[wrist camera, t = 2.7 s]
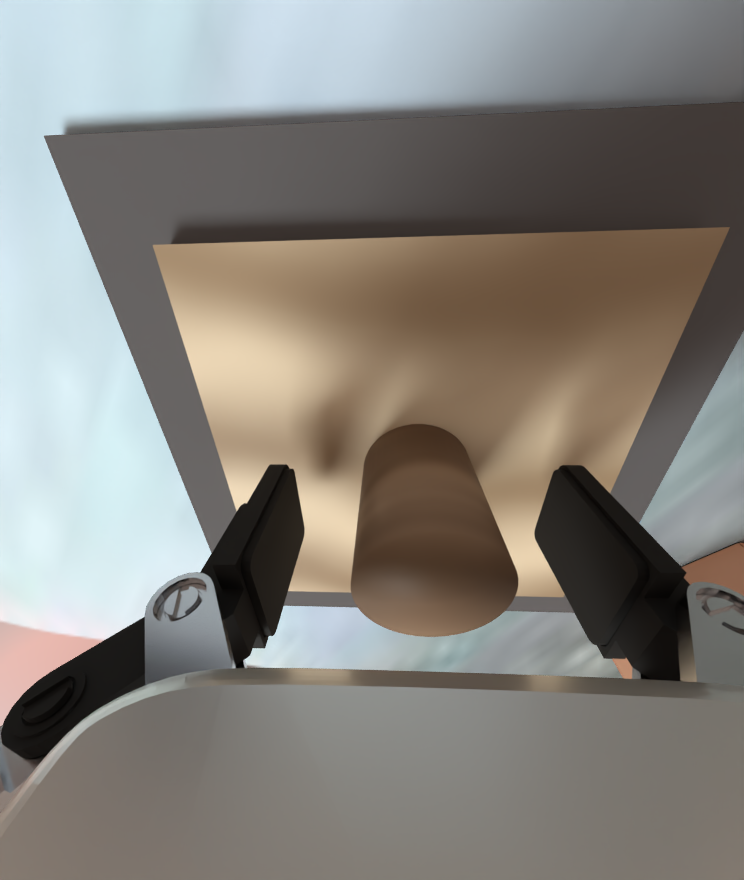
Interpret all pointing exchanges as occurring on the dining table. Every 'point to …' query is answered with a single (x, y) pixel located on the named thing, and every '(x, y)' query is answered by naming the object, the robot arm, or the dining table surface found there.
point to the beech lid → (431, 394)
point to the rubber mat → (410, 235)
